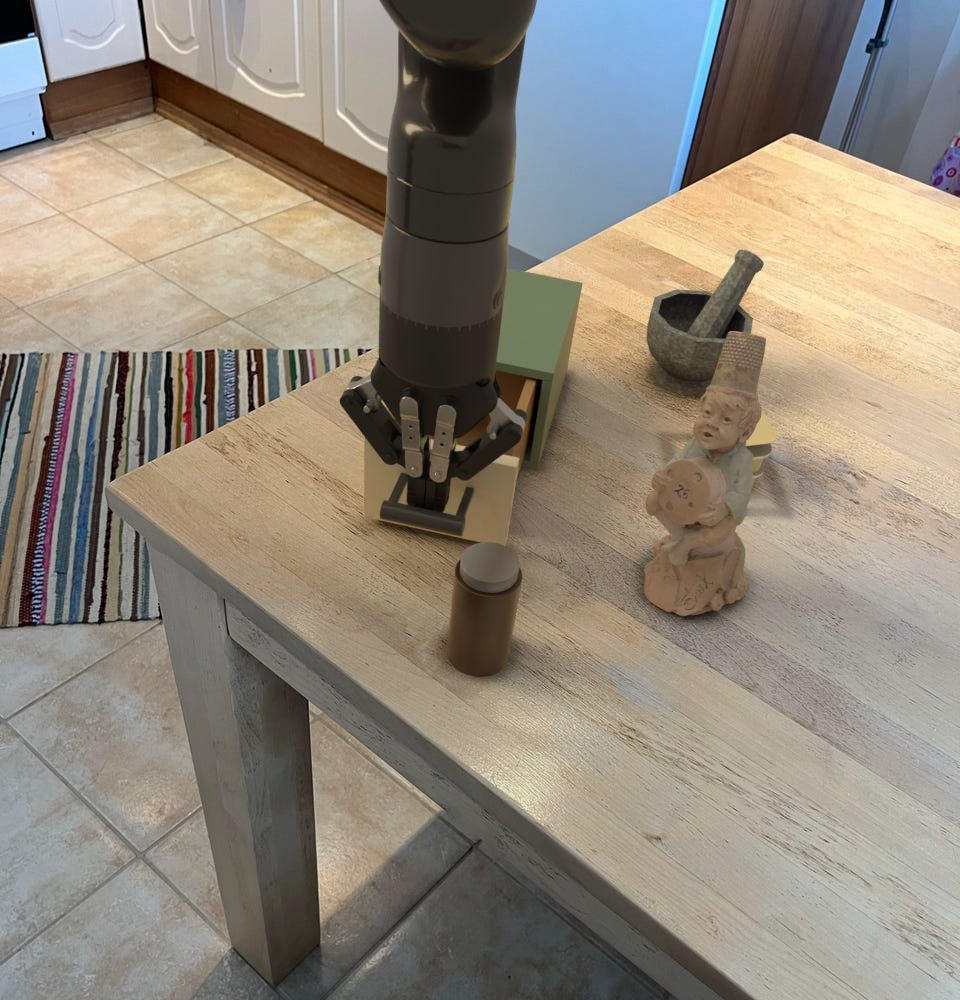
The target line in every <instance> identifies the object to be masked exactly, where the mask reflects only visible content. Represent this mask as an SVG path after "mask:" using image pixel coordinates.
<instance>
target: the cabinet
mask: <svg viewBox="0 0 960 1000" xmlns="http://www.w3.org/2000/svg"><path fill="white" fill-rule="evenodd" d="M582 288H583V282H580V281H575V280H571V279H565V278H560V277H555V276H550V275H545V274H539V273H535V272H531V271H530V272H529V271H524V270H520V269H515V268H510V267H508V270H507V279H506V287H505V295H504V304H503V312H502V320H501V329H500V337H499V345H498V353H497V362H496V370H497V371H502V372H506V373H511V374H516V375H521V376H526V377H531V378H536V379H540V380H539V386H538V393H537V399H536V405H535V412H534V418H533V424H532V430H531V437H530V440H529V443H528V446H527V449H526V452H525V456H524V459H523V462H522V465H521V467H525V468H530V469H535V470H538V469H539V466H540V463H541V459H542V457H543V452H544V449H545V446H546V444H547V443H546V442H547V440H548V436H549V433H550V430H551V427H552V423H553V419H554V417H555V413H556V409H557V407H558V403H559V399H560V396H561V394H562V389H563V387H564V382H565V380H566V377H567V371H568V366H569V360H570V355H571V350H572V346H573V345H572V344H573V340H574V339H573V338H574V334H575V328H576V323H577V316H578V311H579V305H580V299H581V296H582V295H581V293H582Z"/></svg>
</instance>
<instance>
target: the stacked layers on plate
mask: <svg viewBox="0 0 960 1000" xmlns="http://www.w3.org/2000/svg"><path fill="white" fill-rule="evenodd" d="M761 410H762V416H761V419H760V420H759V422H758V423H757V425H756V428H755V430H754V432H753V433H752V435H751V436H750V438H749V439H748V440H746V448H747V449H748V450H749V451H750V452H751V453H753V465H752V466H753V477H752V485H751V490H752V489H753V488H754V485H755V482H756V479H757V478H759V477H761V476H762V475H763V474H764V470H765V464H764V463H763V461H764V459H765V458H768V457H769V456H771V453H772V450H773V447H772V443H773V442H774V441H776V439H777V432H776V431H775V429H774V427H773V425H772V424H771V422H770V420H769V419H768V417H767V415H766V414H765V412H764V410H763V409H761Z"/></svg>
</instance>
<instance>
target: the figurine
mask: <svg viewBox="0 0 960 1000" xmlns="http://www.w3.org/2000/svg"><path fill="white" fill-rule="evenodd" d="M766 344H767V338H766V337H764V336H761V335H757V334H753V333H751V334H749V333H744V332H737V331H736V332H735V331H730V332H728V334H727V337H726V339H725V342H724V345H723V348H722V351H721V354H720V357H719V361H718V364H717V367H716V370H715V373H714V376H713V378H712V381H711V384H710V386H708V387H707V388H706V392H705V394H703V395H701V396H700V399H699V404H700V405H699V407H700V410H699V412H700V413H699V415H698V417H697V419H696V421H695V422H694V424H693V429H692V433H693V435H692V438H691V439H689V441H688V442H687V443H686V444H685V445H684V446H683V447H682V448H681V449H680V450H679V451H677V452H675V454H674V455H673V458H672V459H670V460H669V461H668V462H667V463H666V464H664V466H662V467H661V469H659V470H656V471H655V473H654V474H653V476H652V479H651V488H652V489H653V490H652V491H651V492H650V493H649V494H648V495H647V496H646V498H645V510H646V513H647V514H648V515H649V516H650V517H653V516H654V517H655V519H656V520H658V522H659V523H660V524H661V525H662V526H663V528H664V529H666V531H668V533H669V534H668V535H666V536H663V537H662V538H661V539H660V540H659V542H658V545H656V546H655V547H654V550H653V553H654V555H655V557H653V558H652V559H651V560H650V561H648V562H647V563H646V564H645V566H644V569H643V573H644V583H643V593H644V596H645V598H646V599H647V600H648V601H649V602H650V603H651V604H652V605H654V606H656V607H658V609H661V610H663V611H665V612H667V613H672V612H673V613H674V614H676V615H678V616H680V617H685V616H697V615H701V614H705V613H706V612H712V611H714V612H718V611H720V610H721V609H722V607H723V606H725V605H728V604H733V603H735V602H736V601H740V600H741V599H742V598H744V596H745V595H746V593H748V590H749V587H750V586H749V584H748V579H747V575H746V572H745V570H744V569H745V560H746V548H745V545H744V543H743V541H742V539H741V538H740V536H739V534H738V532H736V530H737V527H739V526H740V525H741V524H742V523H743V522H744V520H745V517H747V516H748V504H749V502H750V499H751V494H752V489H751V485H752V477H753V466H752V465H753V453H751V452H750V451H749V450H748V449H747V448H746V440H748V439H749V438H750V436H751V435H752V433H753V432H754V430H755V428H756V425H757V423H758V422H759V420H760V419H761V416H762V411H763V409H762V405H761V403H760V402H759V401H758V399H759V396H758V395H757V393H758V387H759V380H760V375H761V369H762V366H763V362H764V357H765V352H766ZM761 409H762V410H761Z"/></svg>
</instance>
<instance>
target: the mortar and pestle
mask: <svg viewBox="0 0 960 1000" xmlns="http://www.w3.org/2000/svg"><path fill="white" fill-rule="evenodd" d="M764 266H765V263H764V261H763V260H762V259H761V258H760V257H759V256H758V255H757V254H755V253H754V252H752V251H750V250H747V249H738V250H737V252H736V253H735V254H734V262H733V264H732V265H731V266H730V268H729V269H728V271H727V272H726V274H725V275H724V276H723V278H722V280H721V281H720V283H719V284H718V285H717V287H715V289H714V292H711V291H707V290H694V289H679V288H678V289H674V290H671V291H667V292H665V293H663V294H660V295H657V296H655V297H654V299H653V302H652V306H651V310H650V314H649V316H648V321H647V325H646V339H645V341H646V343H647V347H648V351H649V354H650V355H651V356H652V357H653V358H654V360H655V361H656V365H655V369H654V371H653V378H654V379H655V380H656V381H657V383H658V384H659V385H660V386H661V388H663V389H666V390H668V391H670V392H673V393H676V394H678V395H680V396H700V397H702V396H703V394H705V392H706V388H707V387H708V386H710V384H711V381H712V378H713V376H714V373H715V370H716V367H717V364H718V361H719V357H720V354H721V351H722V348H723V345H724V342H725V339H726V337H727V334H728V332H730V331H735V332H736V331H737V332H744V333H749V334H752V329H753V321H754V318H753V316H751V315H750V314H749V312H747V311H746V310H745V309H744V308H743V307H742V306H741V305H740V304H741V302H742V301H743V298H744V297H745V295H746V293H747V290H748V289H749V287H750V285H751V283H752V281H753V279H754V278H755V275H757V274H758V273H759V272H761V271H762V269H763V267H764Z"/></svg>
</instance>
